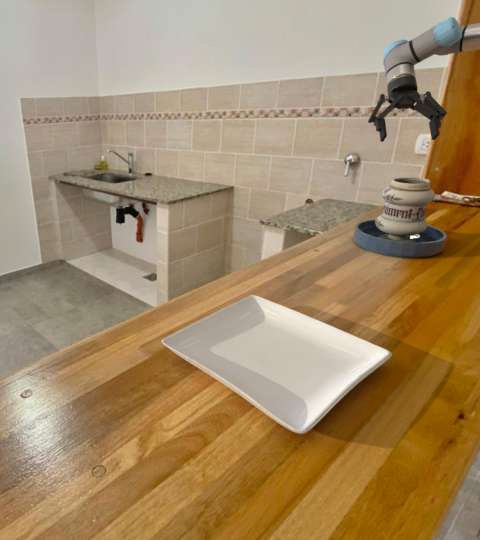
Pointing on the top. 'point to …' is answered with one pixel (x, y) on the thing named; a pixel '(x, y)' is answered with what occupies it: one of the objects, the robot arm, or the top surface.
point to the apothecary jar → (404, 208)
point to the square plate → (278, 359)
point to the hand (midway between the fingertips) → (409, 138)
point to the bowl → (424, 246)
